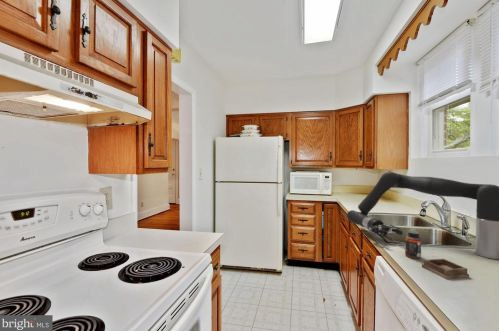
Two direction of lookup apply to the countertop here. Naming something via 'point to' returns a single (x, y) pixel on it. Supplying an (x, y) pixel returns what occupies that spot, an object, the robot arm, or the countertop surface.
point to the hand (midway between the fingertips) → (394, 233)
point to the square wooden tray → (445, 268)
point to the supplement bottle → (413, 245)
